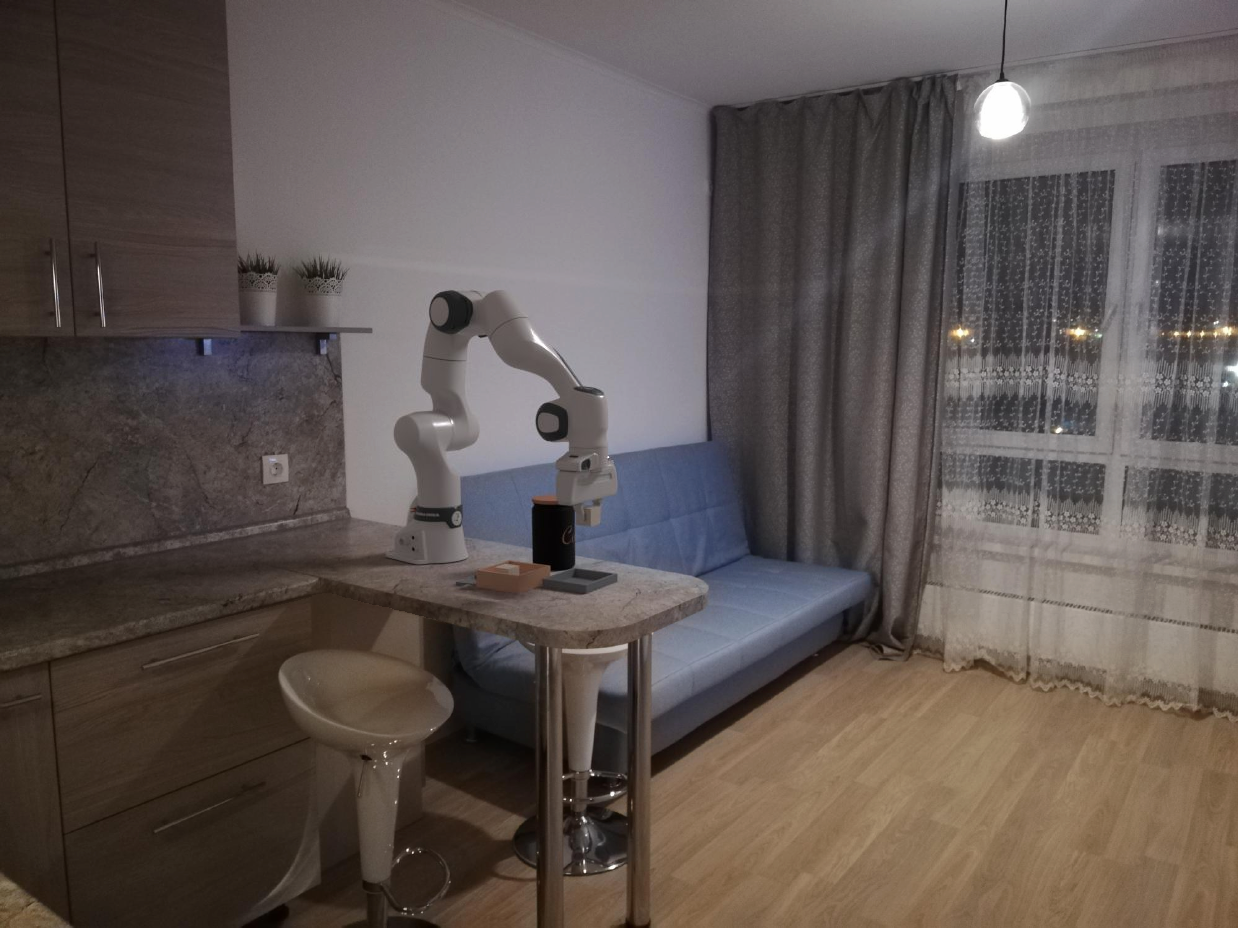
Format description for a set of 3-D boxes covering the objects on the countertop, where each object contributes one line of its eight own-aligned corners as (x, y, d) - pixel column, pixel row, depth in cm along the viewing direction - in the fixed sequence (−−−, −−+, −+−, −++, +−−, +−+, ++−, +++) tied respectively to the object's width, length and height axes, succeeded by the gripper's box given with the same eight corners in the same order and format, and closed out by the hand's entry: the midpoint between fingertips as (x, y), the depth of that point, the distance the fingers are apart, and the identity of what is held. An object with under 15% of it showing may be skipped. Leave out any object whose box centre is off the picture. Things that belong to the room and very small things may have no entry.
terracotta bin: (476, 589, 209) (476, 569, 209) (509, 578, 219) (509, 560, 219) (518, 596, 203) (518, 576, 203) (550, 584, 213) (550, 565, 213)
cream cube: (494, 584, 212) (494, 567, 211) (505, 580, 215) (505, 563, 215) (508, 586, 210) (508, 569, 209) (519, 582, 213) (519, 565, 212)
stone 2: (576, 524, 208) (576, 507, 207) (585, 522, 211) (585, 504, 211) (590, 526, 206) (590, 508, 205) (600, 523, 209) (600, 506, 209)
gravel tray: (542, 589, 209) (542, 578, 209) (574, 577, 220) (574, 567, 220) (586, 596, 203) (586, 585, 202) (617, 584, 214) (617, 573, 213)
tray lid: (455, 585, 213) (455, 578, 213) (479, 575, 222) (478, 569, 222) (481, 587, 211) (481, 581, 210) (504, 578, 220) (503, 571, 219)
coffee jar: (569, 574, 224) (568, 501, 222) (527, 572, 226) (526, 500, 224) (580, 565, 234) (579, 495, 232) (539, 563, 236) (538, 493, 234)
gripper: (601, 454, 217) (601, 512, 219) (550, 462, 200) (550, 525, 201) (624, 455, 214) (623, 514, 216) (574, 464, 197) (574, 528, 198)
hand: (588, 519), depth 208 cm, fingers closed on stone 2, 4 cm apart
